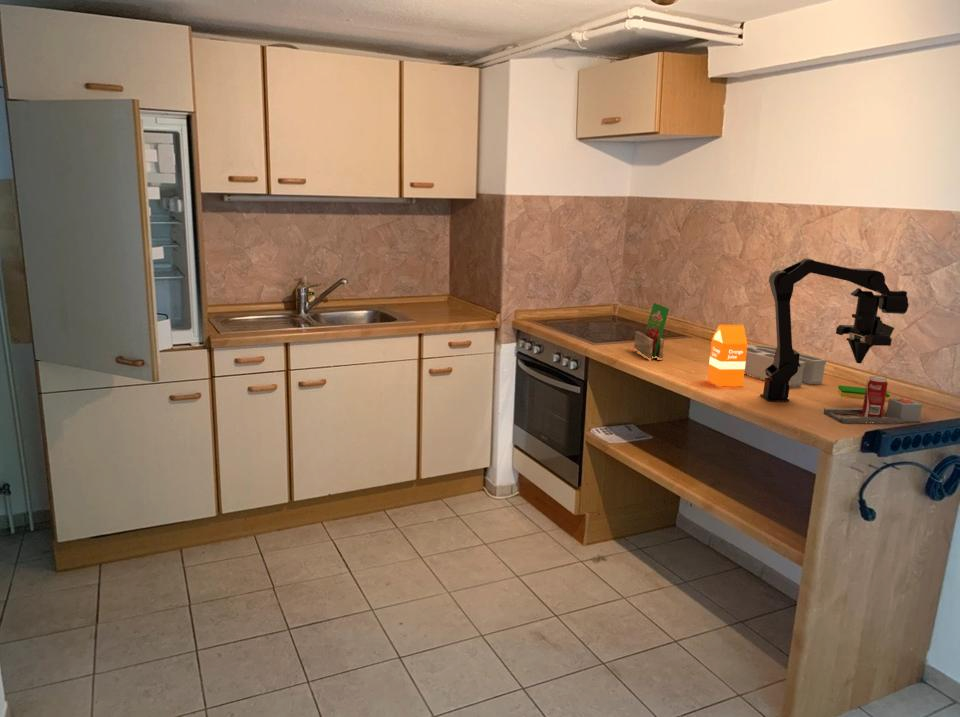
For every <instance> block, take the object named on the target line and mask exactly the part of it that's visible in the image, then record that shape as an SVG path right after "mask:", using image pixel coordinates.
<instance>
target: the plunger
mask: <svg viewBox="0 0 960 717" xmlns="http://www.w3.org/2000/svg"><path fill="white" fill-rule="evenodd" d="M899 399H900V402H902V403H911V400H912V399H911V398H908V397H900V398H899Z"/></svg>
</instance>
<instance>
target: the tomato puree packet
mask: <svg viewBox="0 0 960 717" xmlns="http://www.w3.org/2000/svg"><path fill="white" fill-rule="evenodd" d="M669 311H670V308H669V307H666V306H662V305H661V304H658V303H656V302H653V303H652V307H651V310H650V314H649V318H648V321H647V325H646V328H645V331H644V333H643V334H644V335H646V336H647V337H649V338H651V339H653V349H652V356H653V357H655V356H656V353H657V349H658V346H659V343H660V339H662V336H663V333H664V332H663V331H664V330H665V325H666V322H667V317H668V314H669Z"/></svg>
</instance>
